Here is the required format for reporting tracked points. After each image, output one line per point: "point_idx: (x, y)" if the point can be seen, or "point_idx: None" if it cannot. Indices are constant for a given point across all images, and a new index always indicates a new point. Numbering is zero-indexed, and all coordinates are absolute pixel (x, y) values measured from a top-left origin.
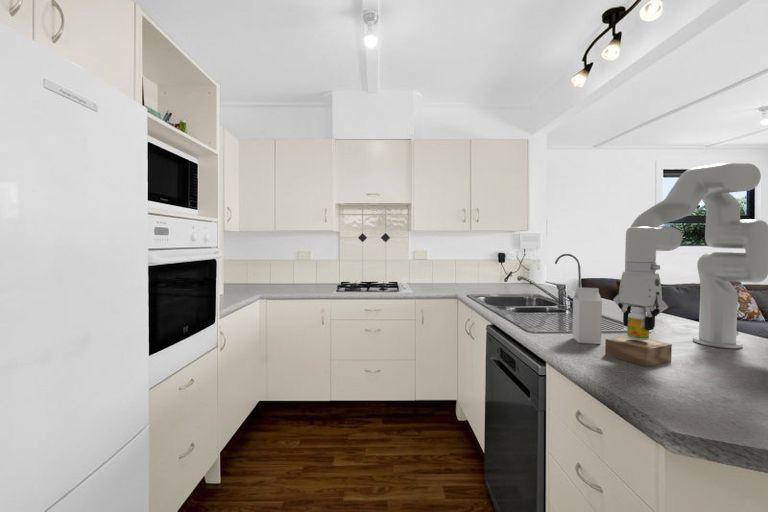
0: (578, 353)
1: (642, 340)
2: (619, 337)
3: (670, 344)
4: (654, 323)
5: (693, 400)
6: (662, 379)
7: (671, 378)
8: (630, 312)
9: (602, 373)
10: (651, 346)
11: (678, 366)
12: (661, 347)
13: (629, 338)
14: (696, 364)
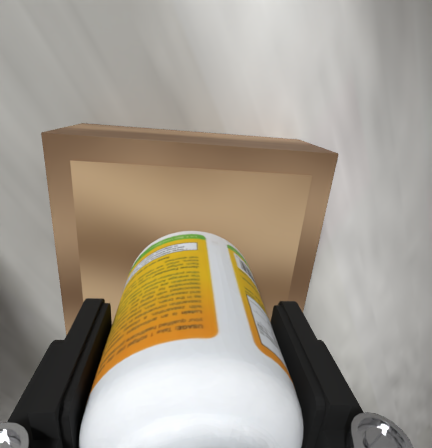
0: None
1: (194, 230)
2: (73, 274)
3: (333, 163)
4: (333, 366)
5: (427, 430)
6: (344, 373)
7: (359, 345)
8: (57, 442)
9: None
10: None
11: (342, 196)
12: (312, 255)
13: (124, 253)
14: (390, 82)
